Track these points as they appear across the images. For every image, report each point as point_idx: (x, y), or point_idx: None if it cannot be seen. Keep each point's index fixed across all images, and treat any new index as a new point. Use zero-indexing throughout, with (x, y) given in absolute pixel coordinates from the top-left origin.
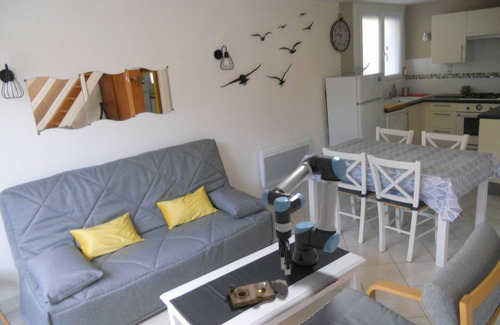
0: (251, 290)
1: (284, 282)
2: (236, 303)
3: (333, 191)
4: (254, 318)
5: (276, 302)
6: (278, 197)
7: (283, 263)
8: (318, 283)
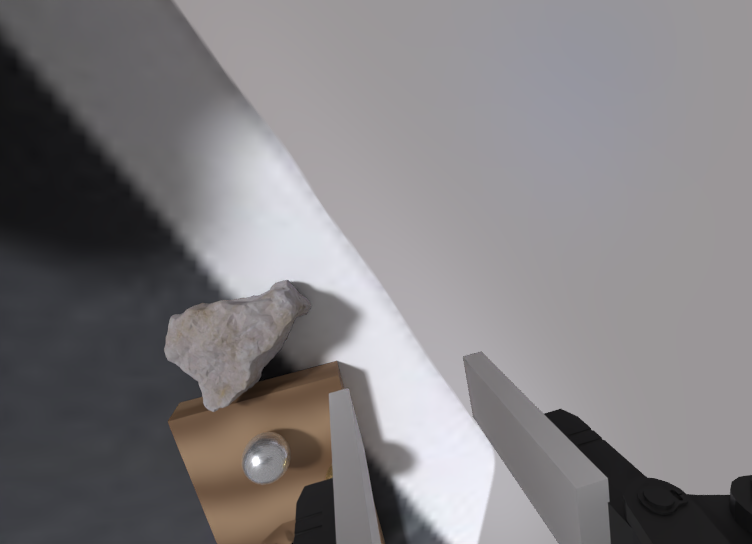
0: (278, 512)
1: (252, 320)
2: None
3: None
4: (482, 462)
5: (375, 356)
6: None
7: (369, 496)
8: (186, 28)
